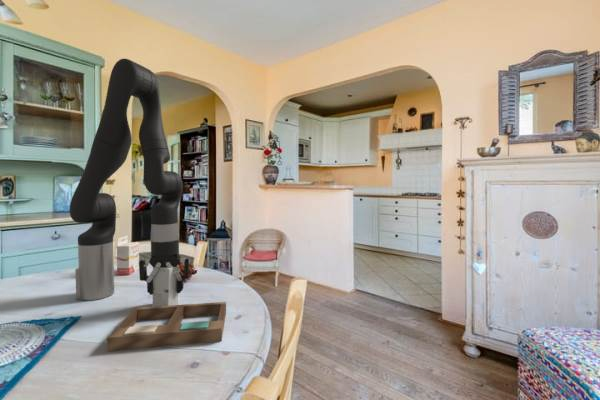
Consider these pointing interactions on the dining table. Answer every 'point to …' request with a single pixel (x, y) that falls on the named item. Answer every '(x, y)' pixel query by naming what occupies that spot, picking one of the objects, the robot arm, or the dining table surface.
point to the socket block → (168, 327)
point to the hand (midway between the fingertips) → (165, 292)
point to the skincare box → (165, 287)
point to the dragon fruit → (190, 269)
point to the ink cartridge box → (127, 256)
